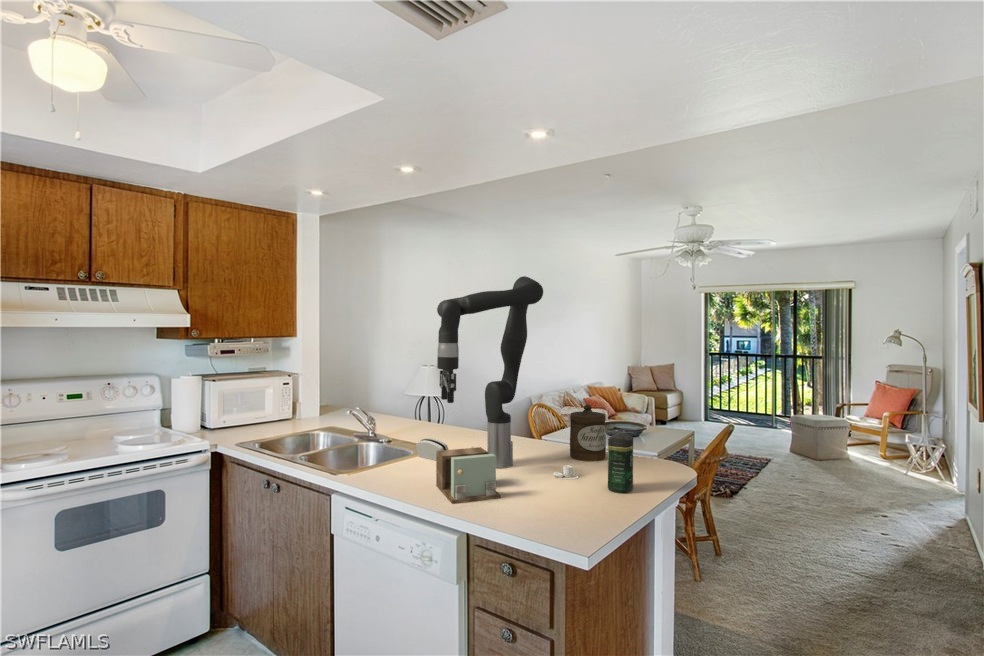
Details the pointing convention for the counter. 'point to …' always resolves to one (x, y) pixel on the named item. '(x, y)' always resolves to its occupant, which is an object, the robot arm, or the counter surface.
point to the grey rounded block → (430, 448)
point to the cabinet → (445, 485)
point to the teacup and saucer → (566, 472)
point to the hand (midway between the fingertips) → (447, 401)
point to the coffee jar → (620, 462)
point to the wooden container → (587, 435)
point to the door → (473, 473)
